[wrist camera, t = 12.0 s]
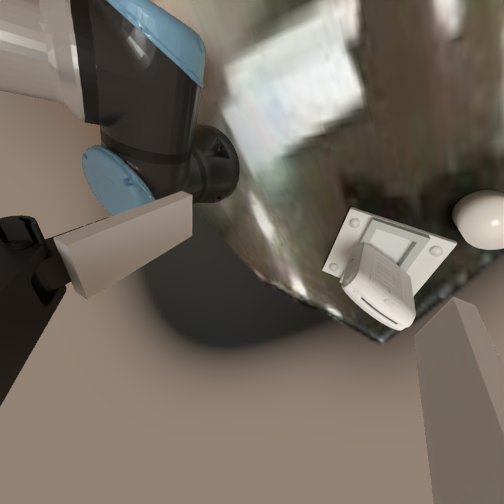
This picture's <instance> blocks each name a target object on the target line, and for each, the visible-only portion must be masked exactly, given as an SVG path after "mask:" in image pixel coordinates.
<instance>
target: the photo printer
mask: <svg viewBox="0 0 504 504" xmlns="http://www.w3.org/2000/svg"><path fill="white" fill-rule="evenodd" d="M342 288H343V290H344V291H345V292H346V294H347V295H348V296H349V297H350V298H351V299H352V300H353V301H354V302H355V303H356V304H357V305H358V306H360V307H361V308H362V309H363V310H364V311H366V312H367V313H368V314H369V315H371V316H372V317H374V318H375V319H377V320H378V321H380V322H381V323H383V324H385V325H387V326H389V327H391V328H393V329H396V330H402V329H404V328H406V327H409V326H410V325H411V324H412V322H413V321H414V318H415V306H414V298H413V291H412V283H411V277H410V276H409V275H408V274H407V273H406V272H405V271H404V270H403V269H402V268H401V267H399V266H398V265H397V264H395V263H394V262H393V261H391V260H390V259H389V258H387V257H386V256H385V255H383V254H382V253H380V252H379V251H378V250H376V249H375V248H373V247H372V246H370V245H368V244H366V243H364V244H359V245H357V246H356V247H355V248H354V249H353V250H352V254H351V255H350V258H349V260H348V264H347V267H346V271H345V274H344V278H343V281H342Z"/></svg>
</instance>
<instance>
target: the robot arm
mask: <svg viewBox="0 0 504 504" xmlns="http://www.w3.org/2000/svg"><path fill="white" fill-rule="evenodd" d="M205 60H206V50H205V46H204V43H203V41H202V39H201V38H200V36H199V35H198V34H197V33H196V32H195V31H194V30H192V29H191V28H190V27H188V26H187V25H186V24H184V23H183V22H181V21H180V20H178V19H177V18H175V17H174V16H172V15H171V14H169V13H168V12H166V11H165V10H163V9H162V8H160V7H159V6H157V5H156V4H154V3H153V2H151V1H149V0H0V91H5V92H10V93H16V94H20V95H25V96H30V97H35V98H40V99H45V100H50V101H56V102H59V103H61V104H62V105H64V106H65V107H66V108H67V109H68V110H70V111H71V112H72V113H73V114H74V115H75V116H76V117H77V118H78V119H79V120H80V121H82V122H85V123H91V124H97V125H100V130H101V146H100V145H94V146H92V147H91V148H89V149H87V150H86V152H85V153H84V154H83V158H82V165H83V170H84V174H85V176H86V179H87V181H88V184H89V186H90V187H91V189H92V191H93V193H94V194H95V196H96V197H97V199H98V200H99V201H100V203H101V204H102V205H103V207H104V208H105V209H106V210H107V211H108V212H109V213H110V214H111V215H112V216H111V217H107V218H104V219H101V220H98V221H96V222H95V223H90V224H87V225H86V226H82V227H79V228H76V229H73V230H71V231H68V232H65V233H62V234H60V235H57V236H54V237H51V238H48V239H44V237H43V235H42V233H41V230H40V228H39V226H38V223H37V221H36V220H35V218H32V217H30V216H10V217H4V218H0V406H1V404H2V402H3V401H4V399H5V397H6V395H7V394H8V392H9V390H10V388H11V387H12V385H13V383H14V381H15V380H16V378H17V376H18V374H19V373H20V371H21V369H22V367H23V366H24V364H25V362H26V360H27V359H28V357H29V355H30V354H31V352H32V350H33V348H34V347H35V345H36V343H37V341H38V340H39V338H40V336H41V334H42V333H43V331H44V329H45V327H46V326H47V324H48V322H49V320H50V318H51V317H52V315H53V313H54V312H55V310H56V308H57V306H58V305H59V303H60V301H61V299H62V298H63V296H64V294H65V292H66V286H65V284H67V283H69V282H72V284H73V287H74V289H75V291H76V292H77V293H78V294H80V295H81V296H83V297H84V298H86V299H87V300H88V299H89V298H91V297H92V296H94V295H96V294H97V293H99V292H101V291H102V290H104V289H106V288H107V287H109V286H111V285H112V284H114V283H115V282H117V281H119V280H120V279H122V278H124V277H125V276H127V275H129V274H130V273H132V272H133V271H135V270H137V269H138V268H140V267H142V266H143V265H145V264H147V263H148V262H150V261H151V260H153V259H155V258H156V257H158V256H160V255H161V254H163V253H164V252H166V251H168V250H169V249H171V248H173V247H174V246H176V245H177V244H179V243H181V242H183V241H184V240H186V239H187V238H189V237H191V236H192V204H194V203H215V202H219V201H221V200H223V199H225V198H227V197H228V196H229V195H231V194H232V192H233V191H234V189H235V188H236V185H237V183H238V179H239V162H238V157H237V154H236V151H235V149H234V147H233V145H232V143H231V142H230V140H229V139H228V138H227V137H226V136H225V135H224V134H223V133H222V132H221V131H219V130H218V129H216V128H214V127H211V126H196V122H197V116H198V110H199V105H200V99H201V93H202V89H204V84H203V77H204V68H205ZM414 344H415V352H416V360H417V368H418V376H419V384H420V393H421V402H422V409H423V418H424V427H425V435H426V443H427V450H428V459H429V468H430V475H431V484H432V493H433V501H434V504H504V366H503V364H502V361H501V359H500V357H499V355H498V353H497V351H496V349H495V346H494V344H493V342H492V340H491V338H490V336H489V334H488V331H487V329H486V327H485V325H484V323H483V321H482V319H481V316H480V314H479V312H478V310H477V308H476V306H475V305H473V304H470V303H468V302H465V301H463V300H460V299H457V298H455V297H452V298H451V299H450V300H449V301H448V303H447V304H446V305H445V306H444V307H443V308H442V309H441V310H440V311H439V312H438V313H437V314H436V315H435V316H434V317H433V318H432V319H431V320H430V321H429V322H428V323H427V324H426V325H425V326H424V327H423V328H422V329H421V330H420V331H419V332H418V333H417V334H416V335H415V336H414Z"/></svg>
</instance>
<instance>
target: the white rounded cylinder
mask: <svg viewBox="0 0 504 504" xmlns="http://www.w3.org/2000/svg"><path fill="white" fill-rule="evenodd" d="M452 219H453V221H454V223H455V225H456V226H457V228H458V229H459V231H460V233H461V234H462V236H463V237H464V239H465V240H466V241H467V242H468V243H469V244H470V245H472V246H474V247H477V248H480V249H487V250H495V249H502V248H504V194H503V193H501V192H498V191H494V190H481V191H476V192H473V193H471V194H468V195H466V196H465V197H463V198H462V199H460V200H459V201H458V202H457V203H456V205H455V206H454V208H453V211H452Z"/></svg>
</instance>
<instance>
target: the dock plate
mask: <svg viewBox="0 0 504 504" xmlns="http://www.w3.org/2000/svg"><path fill="white" fill-rule="evenodd" d="M364 243H366V244H368V245H370V246H372V247H373V248H375V249H376V250H378V251H379V252H380V253H382V254H383V255H385V256H386V257H387V258H389V259H390V260H391V261H393V262H394V263H395V264H397V265H398V266H399V267H401V268H402V269H403V270H404V271H405V272H406V273H407V274H408V275H409V276H410V277H411V283H412V291H413V296H414V295H415V294H416V293H417V291H418V290H419V289H420V288H421V287H422V285H423V284H424V283H425V282H426V281H427V280H428V278H429V277H430V276H431V275H432V274H433V272H434V271H435V270H436V269H437V268H438V266H439V265H440V264H441V263H442V262H443V260H444V259H445V258H446V257H447V256H448V254H449V253H450V252H451V251H452V250H453V248H454V247H455V246H456V245H457V242H456V241H454V240H451V239H448V238H445V237H442V236H439V235H436V234H432V233H429V232H426V231H423V230H420V229H417V228H414V227H411V226H408V225H405V224H402V223H399V222H396V221H393V220H389V219H386V218H383V217H380V216H377V215H374V214H371V213H368V212H365V211H362V210H359V209H356V208H353V207H351V208H350V210H349V212H348V215H347V217H346V219H345V221H344V223H343V226H342V228H341V230H340V232H339V234H338V237H337V239H336V241H335V243H334V246H333V248H332V250H331V252H330V254H329V257H328V259H327V261H326V263H325V266H324V268H323V270H322V271H325V272H327V273H329V274H332V275H334V276H337V277H339V278H341V279H340V283H342V281H343V278H344V274H345V271H346V267H347V264H348V260H349V258H350V255H351V254H352V250H353V249H354V248H355V247H356V246H357V245H359V244H364Z"/></svg>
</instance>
